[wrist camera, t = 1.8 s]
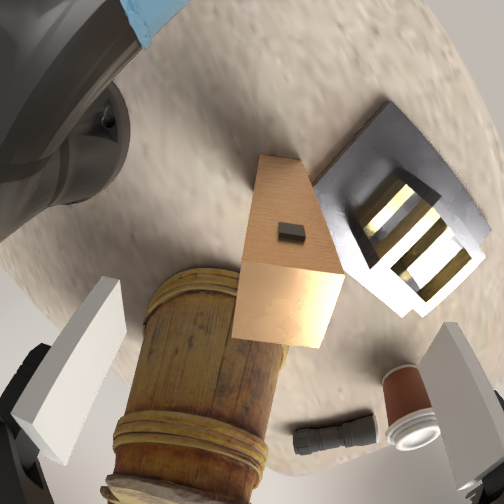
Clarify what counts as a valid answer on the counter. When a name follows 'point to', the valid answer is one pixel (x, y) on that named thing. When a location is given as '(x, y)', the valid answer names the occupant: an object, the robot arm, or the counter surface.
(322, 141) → the counter surface
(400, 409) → the coffee cup
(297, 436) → the flashlight
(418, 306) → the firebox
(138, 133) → the counter surface
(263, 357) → the tankard
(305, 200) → the tapered wooden post
